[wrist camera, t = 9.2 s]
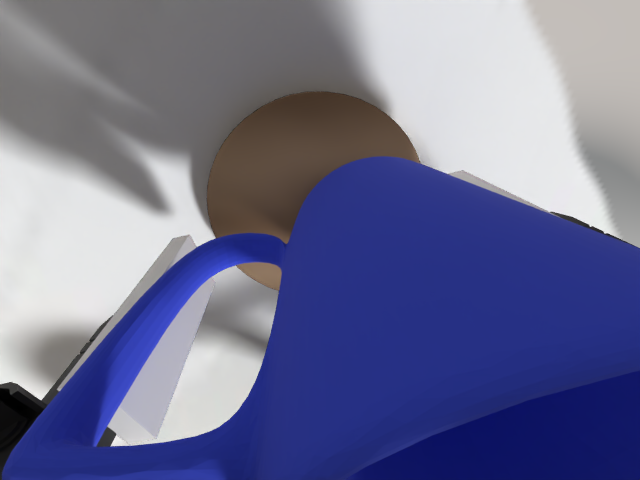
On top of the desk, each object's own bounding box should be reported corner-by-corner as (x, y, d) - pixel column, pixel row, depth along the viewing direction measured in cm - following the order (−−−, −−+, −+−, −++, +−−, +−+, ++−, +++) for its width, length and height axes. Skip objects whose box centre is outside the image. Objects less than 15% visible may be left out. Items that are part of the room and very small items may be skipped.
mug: (167, 128, 10) (-762, 451, 1) (472, 133, 11) (1143, 304, 2) (208, 296, 14) (77, 641, 5) (426, 286, 15) (609, 551, 6)
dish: (173, 122, 12) (162, 126, 11) (412, 65, 12) (424, 62, 11) (254, 298, 17) (251, 312, 16) (416, 261, 17) (424, 272, 16)
